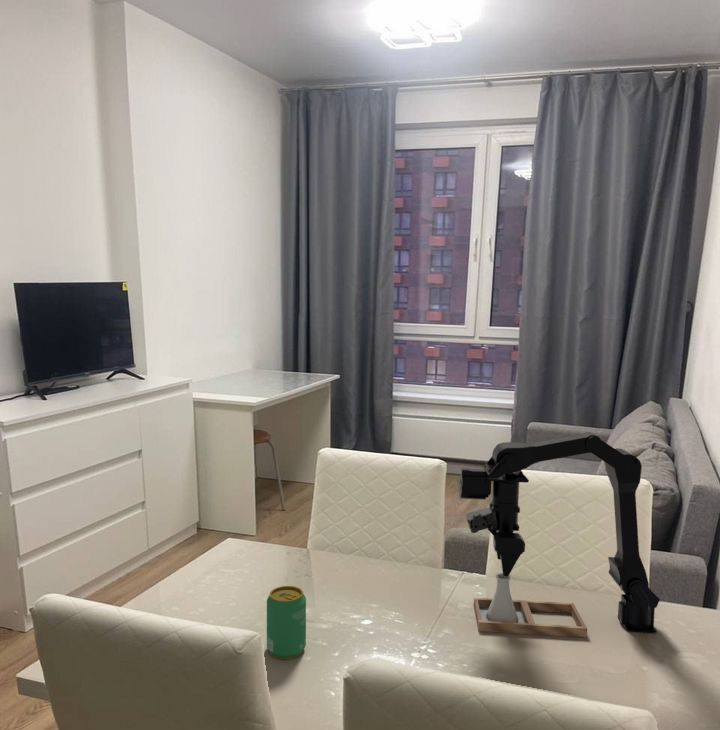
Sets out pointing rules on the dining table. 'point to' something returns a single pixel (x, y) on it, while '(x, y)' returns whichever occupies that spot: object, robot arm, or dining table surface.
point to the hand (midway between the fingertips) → (502, 567)
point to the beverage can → (286, 622)
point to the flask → (502, 602)
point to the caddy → (530, 619)
